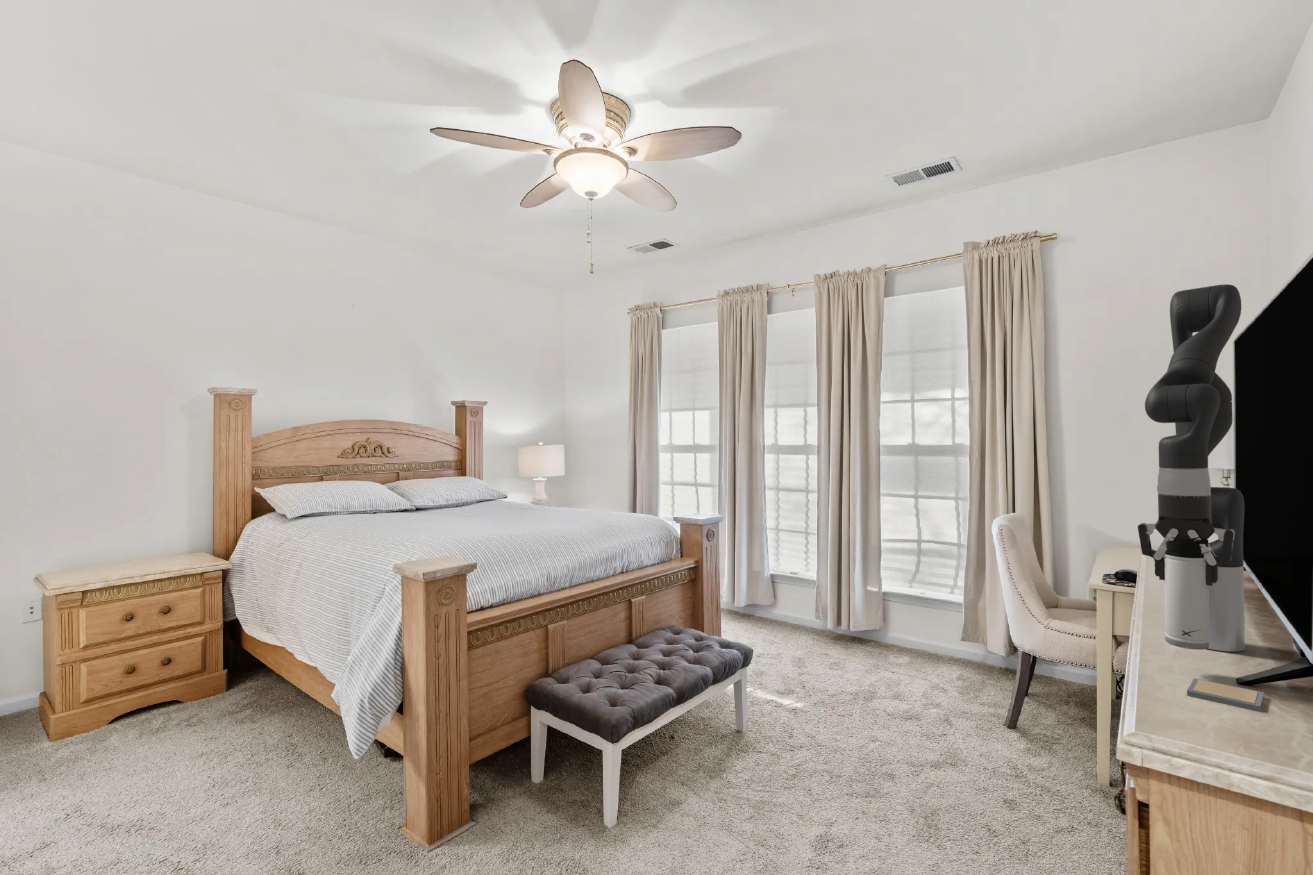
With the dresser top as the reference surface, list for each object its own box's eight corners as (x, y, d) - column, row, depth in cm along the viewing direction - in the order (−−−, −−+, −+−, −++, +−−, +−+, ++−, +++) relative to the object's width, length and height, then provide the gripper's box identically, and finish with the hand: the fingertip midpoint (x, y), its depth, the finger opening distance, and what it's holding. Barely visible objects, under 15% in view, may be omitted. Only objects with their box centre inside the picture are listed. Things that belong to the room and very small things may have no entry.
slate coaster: (1194, 682, 112) (1194, 677, 112) (1264, 697, 106) (1263, 691, 106) (1187, 695, 107) (1186, 689, 107) (1260, 711, 100) (1260, 705, 100)
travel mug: (1194, 652, 113) (1193, 541, 112) (1156, 640, 119) (1155, 535, 119) (1220, 648, 114) (1218, 538, 114) (1181, 637, 121) (1179, 533, 120)
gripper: (1238, 492, 114) (1240, 584, 114) (1139, 488, 124) (1141, 573, 124) (1233, 496, 109) (1236, 592, 109) (1131, 491, 119) (1133, 579, 119)
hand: (1185, 581), depth 117 cm, fingers closed on travel mug, 6 cm apart
